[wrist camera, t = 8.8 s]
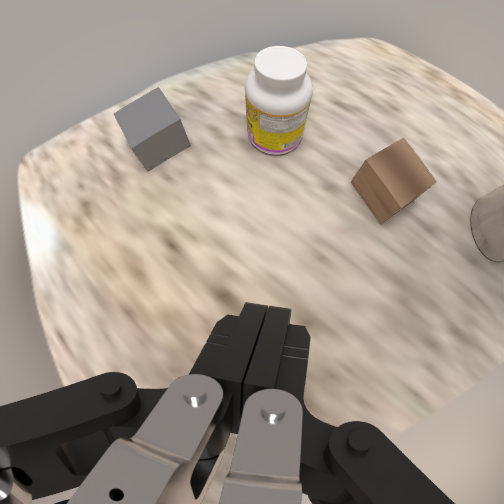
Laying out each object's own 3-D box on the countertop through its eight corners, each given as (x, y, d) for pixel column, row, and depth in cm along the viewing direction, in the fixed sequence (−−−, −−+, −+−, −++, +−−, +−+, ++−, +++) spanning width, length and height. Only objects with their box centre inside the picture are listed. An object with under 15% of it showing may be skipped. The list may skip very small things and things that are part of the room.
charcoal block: (170, 114, 38) (158, 87, 32) (190, 146, 37) (180, 119, 31) (130, 138, 37) (113, 113, 31) (148, 171, 36) (131, 148, 30)
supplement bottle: (253, 108, 38) (252, 34, 25) (305, 117, 37) (321, 45, 25) (242, 151, 36) (235, 81, 24) (297, 162, 36) (314, 94, 23)
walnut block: (385, 161, 36) (403, 137, 30) (413, 200, 35) (436, 182, 29) (350, 182, 36) (365, 159, 30) (380, 224, 35) (401, 208, 29)
